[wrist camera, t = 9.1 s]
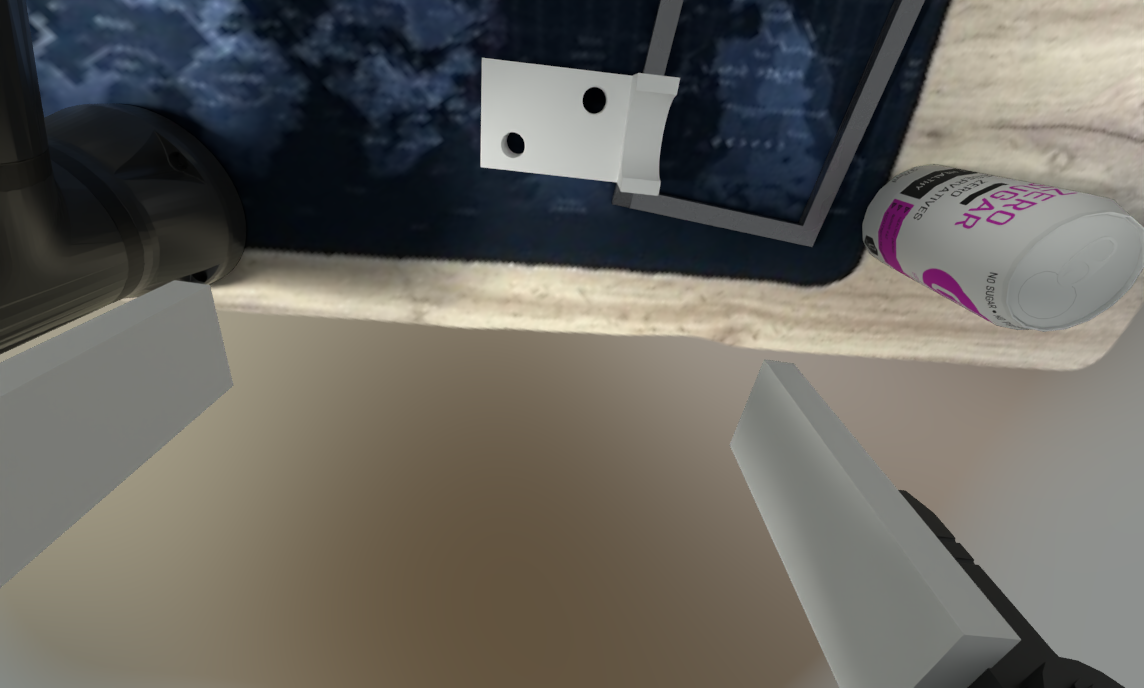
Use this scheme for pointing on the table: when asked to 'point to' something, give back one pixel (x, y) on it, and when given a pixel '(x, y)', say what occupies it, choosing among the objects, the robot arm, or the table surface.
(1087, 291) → the supplement can
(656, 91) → the bracket
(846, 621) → the robot arm
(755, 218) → the rails
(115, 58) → the table surface
